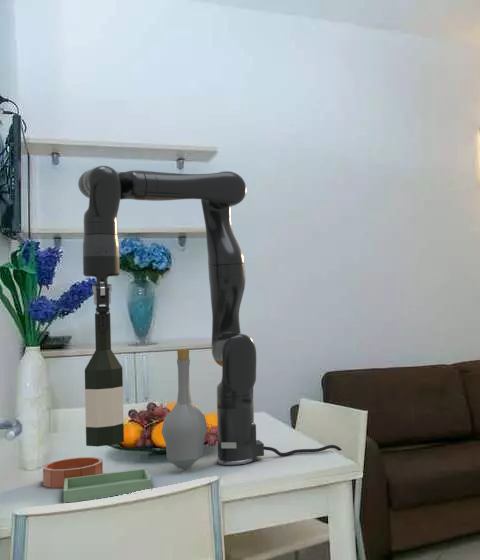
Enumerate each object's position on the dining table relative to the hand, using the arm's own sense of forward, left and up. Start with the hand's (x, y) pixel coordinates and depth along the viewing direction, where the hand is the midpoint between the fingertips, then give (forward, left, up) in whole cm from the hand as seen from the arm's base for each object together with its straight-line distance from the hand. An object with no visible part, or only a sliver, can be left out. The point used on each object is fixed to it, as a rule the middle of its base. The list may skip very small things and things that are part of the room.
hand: (102, 330), depth 154 cm
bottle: (-18, -9, -36) cm, 41 cm away
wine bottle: (0, 0, -25) cm, 25 cm away
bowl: (+7, -13, -36) cm, 39 cm away
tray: (0, +1, -36) cm, 36 cm away
